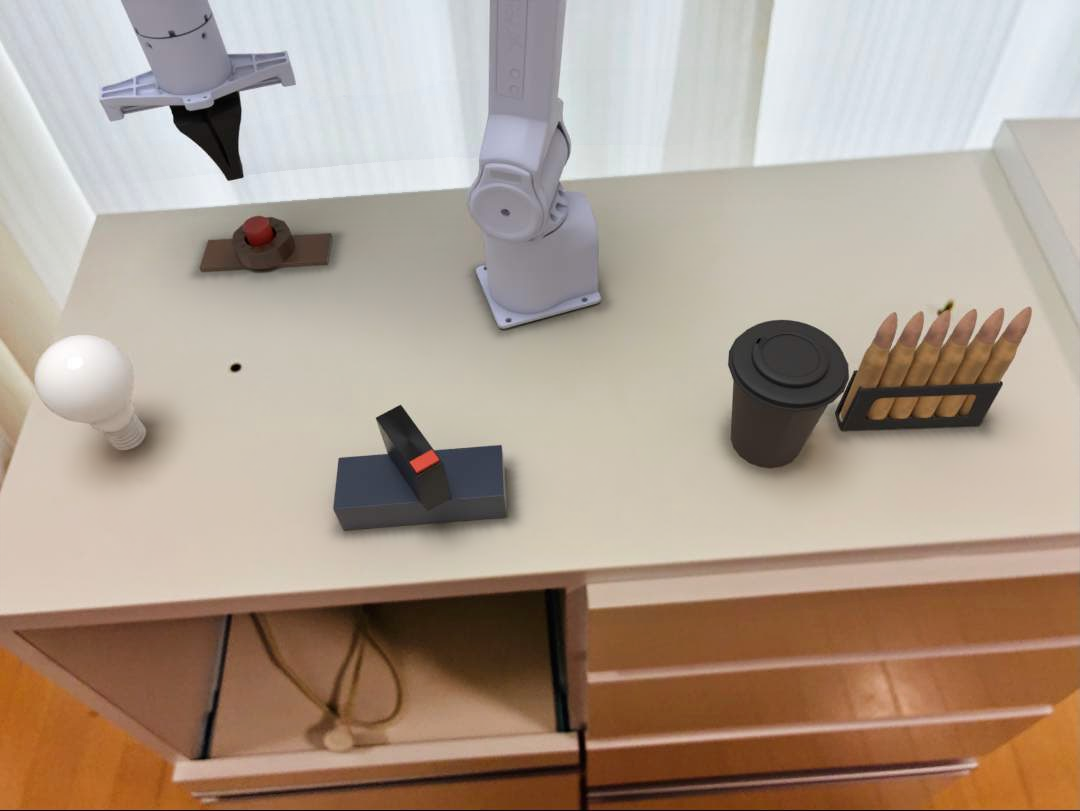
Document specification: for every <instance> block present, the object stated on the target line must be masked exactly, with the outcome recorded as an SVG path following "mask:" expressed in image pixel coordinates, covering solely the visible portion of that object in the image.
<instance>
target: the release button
mask: <svg viewBox="0 0 1080 811" xmlns="http://www.w3.org/2000/svg"><path fill="white" fill-rule="evenodd" d="M266 217H267V216H266ZM266 217H265V216H263V215H255V216H251V217H249V218H248V219H246V220H245V221H244V222H243V224H242V225H243V230H244V232H245V235H246V237H247V239H248V242H249V243H250V244H251V245H252V246H263V245H266V244H268V243H270V242H271V241H272V240H273V239H274V233H273V231H272V228H271V226H270V223H269V220H268V219H267V218H266Z"/></svg>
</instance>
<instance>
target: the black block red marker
mask: <svg viewBox="0 0 1080 811" xmlns="http://www.w3.org/2000/svg"><path fill="white" fill-rule="evenodd" d="M375 421H376V423H377V427H378V429H379V432H380V435H381V438H382V442H383V444H384V448H385V450H386V454H388V455H389V457H390V458H391V460H392V461H393V463H394V464H395V466H396V467H397V469H398V470H399V472H400V473H401V475H402V476H403V477H404V479H405V480H406V482H407V483H408V485H409V486H410V488H411V489H412V491H413V492H414V494H415V495H416V497H417V498H418V500H419V501H420V502H421V504H422V505H423V507H424V508H425V510H426V511H427V512H428V511H430V510H432V509H434V508H435V507H437V506H439V505H441V504H442V503H444V502H446V501H448V500H449V499H451V498H452V497H451V493H450V489H449V485H448V481H447V477H446V473H445V469H444V465H443V462H442V460H441V459H440V458H439V456H438V455H437V453H436V452H435V451H434V450H435V449H434V448H433V447H432V446H431V443H430V442H429V441H428V439H427V438H426V437H425V435H424V434H423V432H422V431H421V430H420V429H419V427H418V426H417V424H416V423H415V422H414V421H413V419H412V417H411V416H410V414H409V413H408V412H407V411H406V409H405V407H404V406H403V405H402V404H399V405H397V406H395V407H393V408H391V409H390V410H388V411H385V412H384V413H382V414H379V415H378V416H376V417H375Z"/></svg>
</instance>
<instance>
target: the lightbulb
mask: <svg viewBox="0 0 1080 811" xmlns="http://www.w3.org/2000/svg"><path fill="white" fill-rule="evenodd" d="M33 375H34V377H33V378H34V379H33V381H34V387H35V391H36V393H37V394H36V395H37V396H38V398H39V399H40V401H41V402H42V404H43V405H44V406H45V407H46V408H47V409H48V410H49V411H50V412H52V413H53V414H54V415H56V416H58V417H60V418H61V419H64V420H67V421H70V422H72V423H73V422H74V423H79V424H86V425H89V426H90V427H92V429H93V428H94V429H95V430H97V431H99V432H101V433H102V434H103V435H104V436H105V438H106V439H107V440H108V442H109V443H110V444H111V445H112V446H113V448H114V449H117V450H119V451H129V450H132V449H134V448H136V447H138V446H139V445H140V444H142V442H143V441H144V440H145V439H146V436H147V429H146V427H145V425H144V424H143V422H142V421H141V419H139V417H138V416H137V414H136V413H135V407H134V406H135V405H134V402H133V399H132V396H133V393H134V388H135V382H136V381H135V379H136V378H135V370H134V367H133V365H132V362H131V360H130V359H129V357H128V356H127V354H126V353H125V351H124V350H122V349H121V347H119V345H117V344H115V343H114V342H112V341H110V340H108V339H106V338H104V337H101V336H97V335H92V334H76V335H70V336H66V337H63V338H61V339H59V340H57V341H55V342H54V343H53V344H51V345H49V346H48V347H47V349H45V350H44V352H42V354H41V355H40V357H39V359H38V361H37V362H36V365H35V369H34V374H33Z"/></svg>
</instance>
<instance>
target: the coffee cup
mask: <svg viewBox="0 0 1080 811" xmlns="http://www.w3.org/2000/svg"><path fill="white" fill-rule="evenodd" d="M728 350H729V351H728V358H727V366H728V369H729V373H730V376H731V378H732V380H733V381H732V382H733V383H732V401H731V402H732V404H731V419H730V420H731V422H730V441H731V445H732V448H733V449H734V451H735V452H736V453H737V456H739V457H740V458H741V459H743V460H744V461H745V462H747V463H749V464H751V465H754V466H756V467H758V468H765V469H777V468H782V467H784V466H787V465H788V464H791V463H792V462H793V461H794V460H795V459H796V458H798V456H799V455H800V453H801V452H802V450H803V448H804V446H805V444H806V443H807V441H808V440H809V438H810V436H811V434H812V433H813V431H814V429H815V428H816V426H817V424H818V423H819V421H820V420H821V417H822V416H823V415H824V413H825V412H826V409H827V408H828V406H829V405H831V404H833V403H834V402H835V401H836V400H837V399H838V398H839V397H841V395H843V394H844V391H845V389H846V387H847V385H848V383H849V381H850V370H849V362H848V360H847V358H846V355H845V354H844V352H843V350H842V348H841V347H840V345H839V344H838V343H837V341H835V339H834V338H832V337H831V336H830V335H829V334H827V333H826V332H825V331H823V330H822V329H819V328H818V327H816V326H813V325H811V324H808V323H806V322H803V321H802V322H801V321H797V320H791V319H773V320H767V321H762V322H760V323H756V324H755V325H753V326H751V327H750V328H747V329H746V330H745V331H743V332H742V333H740V334H739V335H738V337H736V338H735V339H734V341H733V343H732V345H731V346H730V348H729V349H728Z"/></svg>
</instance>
